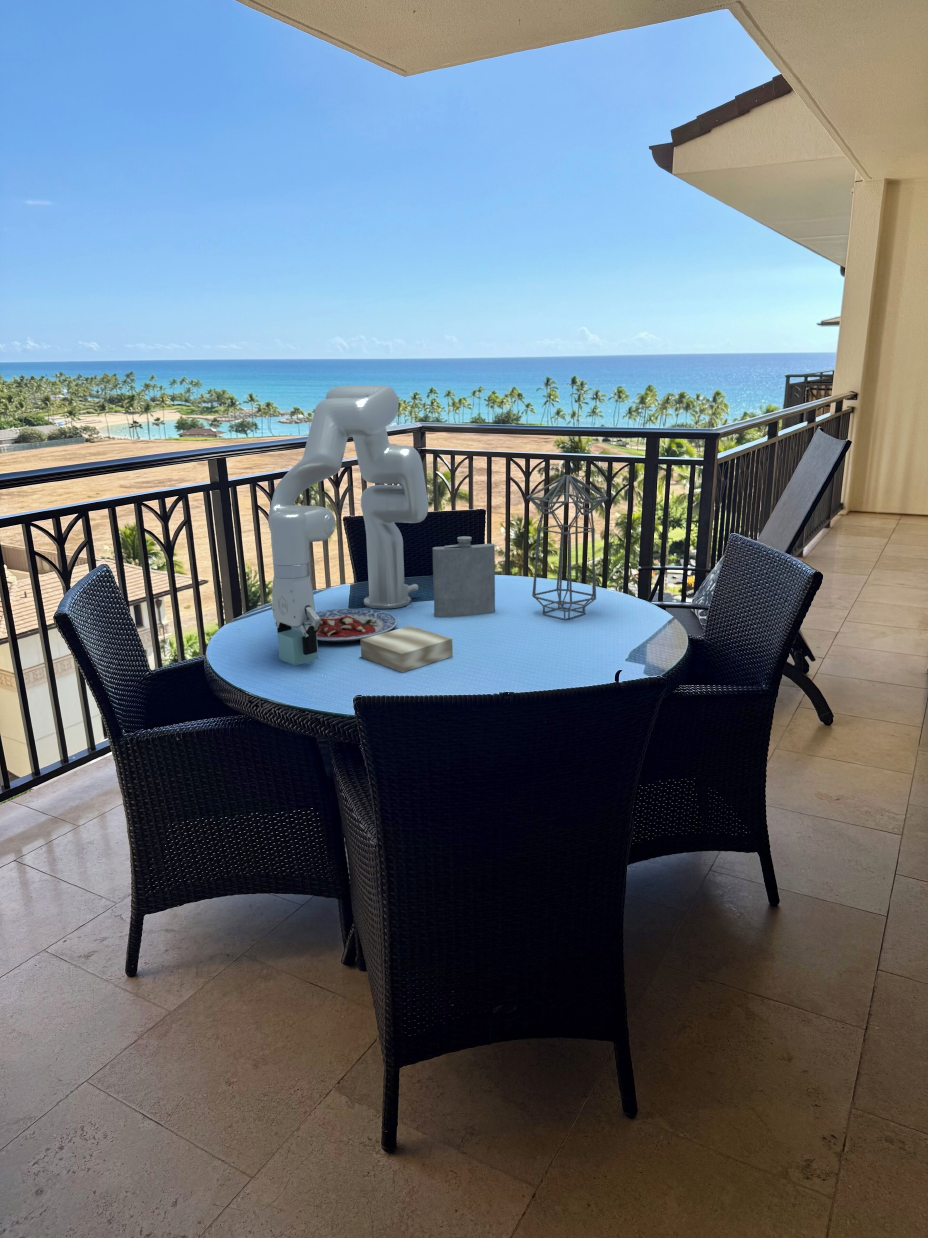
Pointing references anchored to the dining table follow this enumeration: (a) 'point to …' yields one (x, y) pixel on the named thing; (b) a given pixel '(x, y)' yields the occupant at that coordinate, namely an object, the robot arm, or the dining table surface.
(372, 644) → the birch base
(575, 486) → the geometric lantern
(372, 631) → the ceramic plate
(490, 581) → the hip flask
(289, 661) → the teal cube
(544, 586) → the dining table surface
